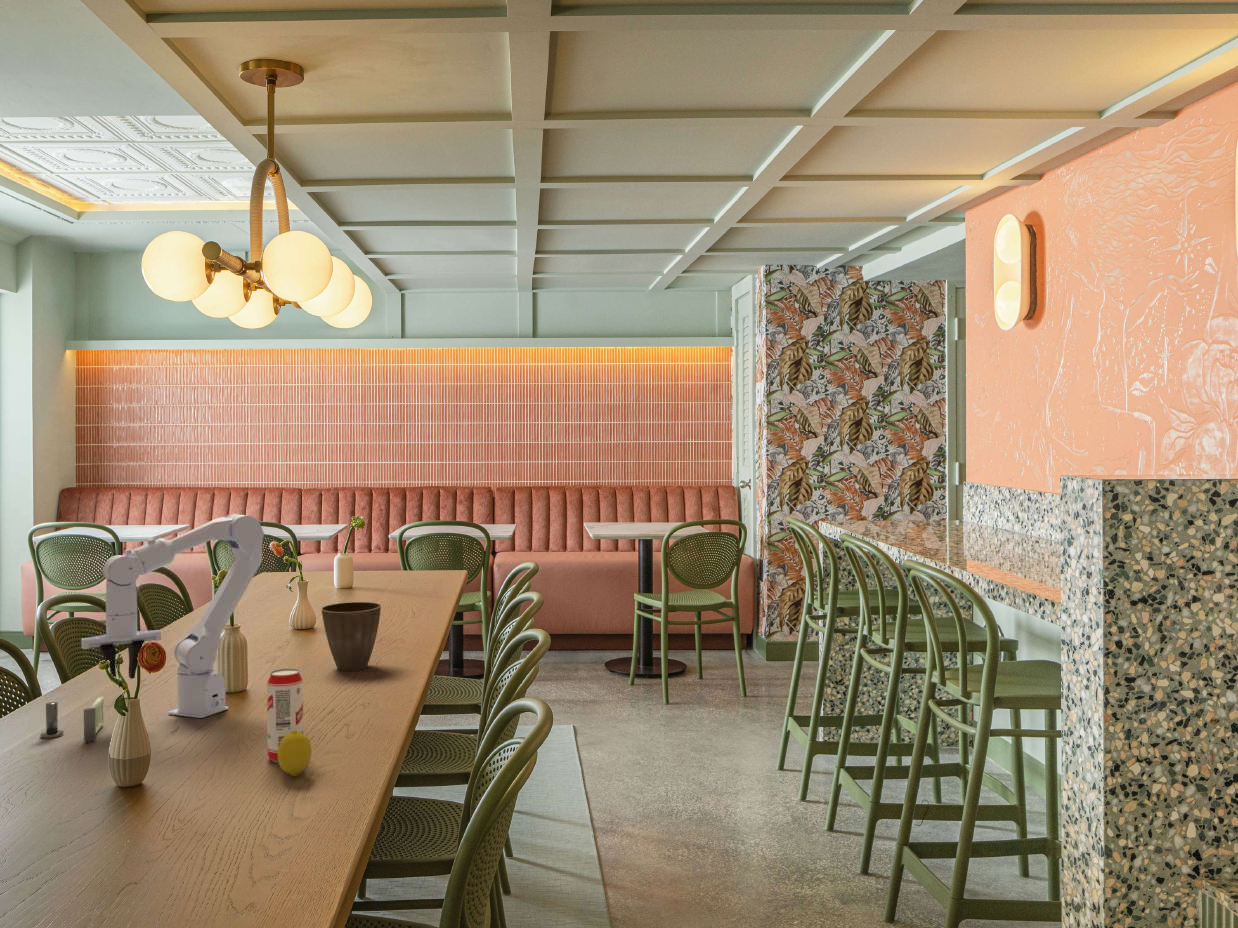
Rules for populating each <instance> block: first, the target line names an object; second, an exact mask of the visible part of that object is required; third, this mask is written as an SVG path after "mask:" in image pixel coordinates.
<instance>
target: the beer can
mask: <svg viewBox="0 0 1238 928" xmlns="http://www.w3.org/2000/svg"><path fill="white" fill-rule="evenodd" d="M269 674H270V676H269V678H268V680H267V683H266V691H267V694H266V695H267V696H266V697H267V698H266V699H267V700H266V707H267V721H266V722H267V725H266V726H267V757H268V759H269V760H271V761H272V762H273V763H277V764H279V762H278V748H279V745H280V742H281V740H282V739H283V738H284V737H285V736H286V735H287V734H289V733H291V732H292V731H293V730H296V731H297V732H300V733H302V734H304V685H303V684H304V681H303V678H302V676H301V674H300V669H297V668H281V669H276V670H272V671H271V672H269ZM304 735H305V734H304Z"/></svg>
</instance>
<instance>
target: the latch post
mask: <svg viewBox="0 0 1238 928" xmlns="http://www.w3.org/2000/svg"><path fill="white" fill-rule="evenodd" d="M58 711H59V709H58V702H57V701H51V702H46V703H45V726H46V727H45V729H46V730H45V731H43V732H42V733H40V735H39V737H40V739H43V740H49V739H56V738H60V737H63V736H64V735H65V731H64V730H61V729H59V719H58V718H59V717H58V716H59V715H58V714H59V713H58Z"/></svg>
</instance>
